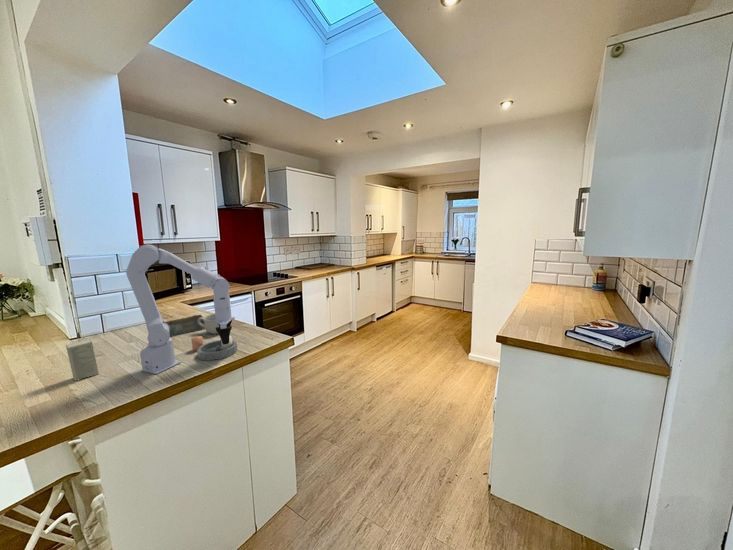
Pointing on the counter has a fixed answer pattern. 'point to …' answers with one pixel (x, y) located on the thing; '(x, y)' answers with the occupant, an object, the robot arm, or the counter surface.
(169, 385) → the counter surface
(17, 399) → the counter surface
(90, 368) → the skincare box
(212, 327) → the teacup
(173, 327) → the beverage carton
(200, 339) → the bead terracotta
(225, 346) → the bead cream
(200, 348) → the groove tray
